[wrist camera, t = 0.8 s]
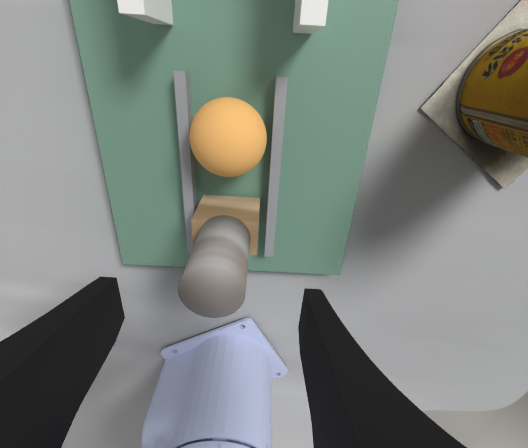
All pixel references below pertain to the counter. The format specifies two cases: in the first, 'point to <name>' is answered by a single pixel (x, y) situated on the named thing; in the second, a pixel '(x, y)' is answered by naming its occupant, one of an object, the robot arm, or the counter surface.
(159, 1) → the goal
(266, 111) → the pitch
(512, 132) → the condiment
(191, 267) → the grey and tan mallet
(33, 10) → the counter surface
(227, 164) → the ball
